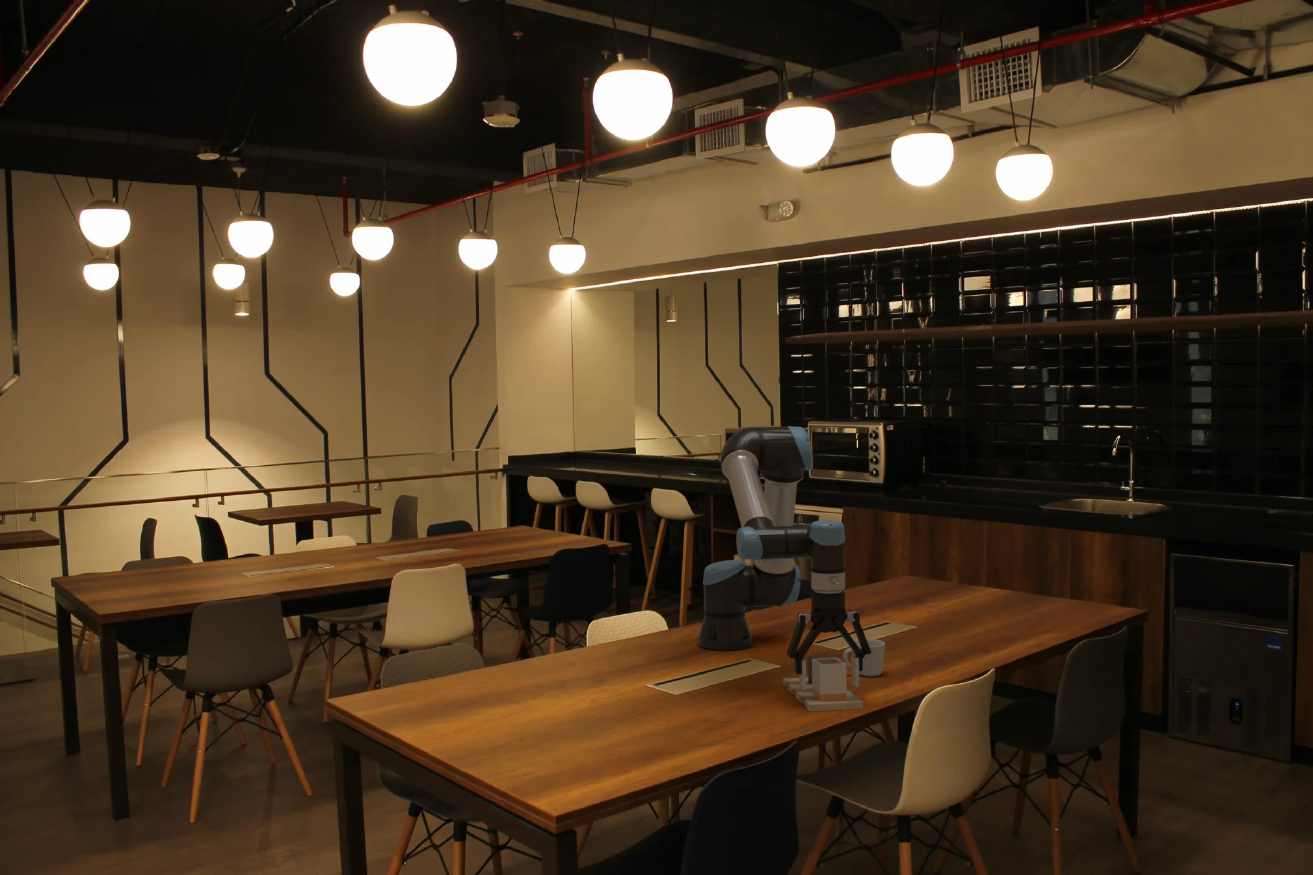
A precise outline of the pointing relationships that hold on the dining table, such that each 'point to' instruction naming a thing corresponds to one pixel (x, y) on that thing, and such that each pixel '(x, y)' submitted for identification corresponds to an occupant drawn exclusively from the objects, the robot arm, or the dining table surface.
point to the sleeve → (829, 679)
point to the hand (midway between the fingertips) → (829, 687)
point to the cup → (869, 658)
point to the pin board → (812, 701)
